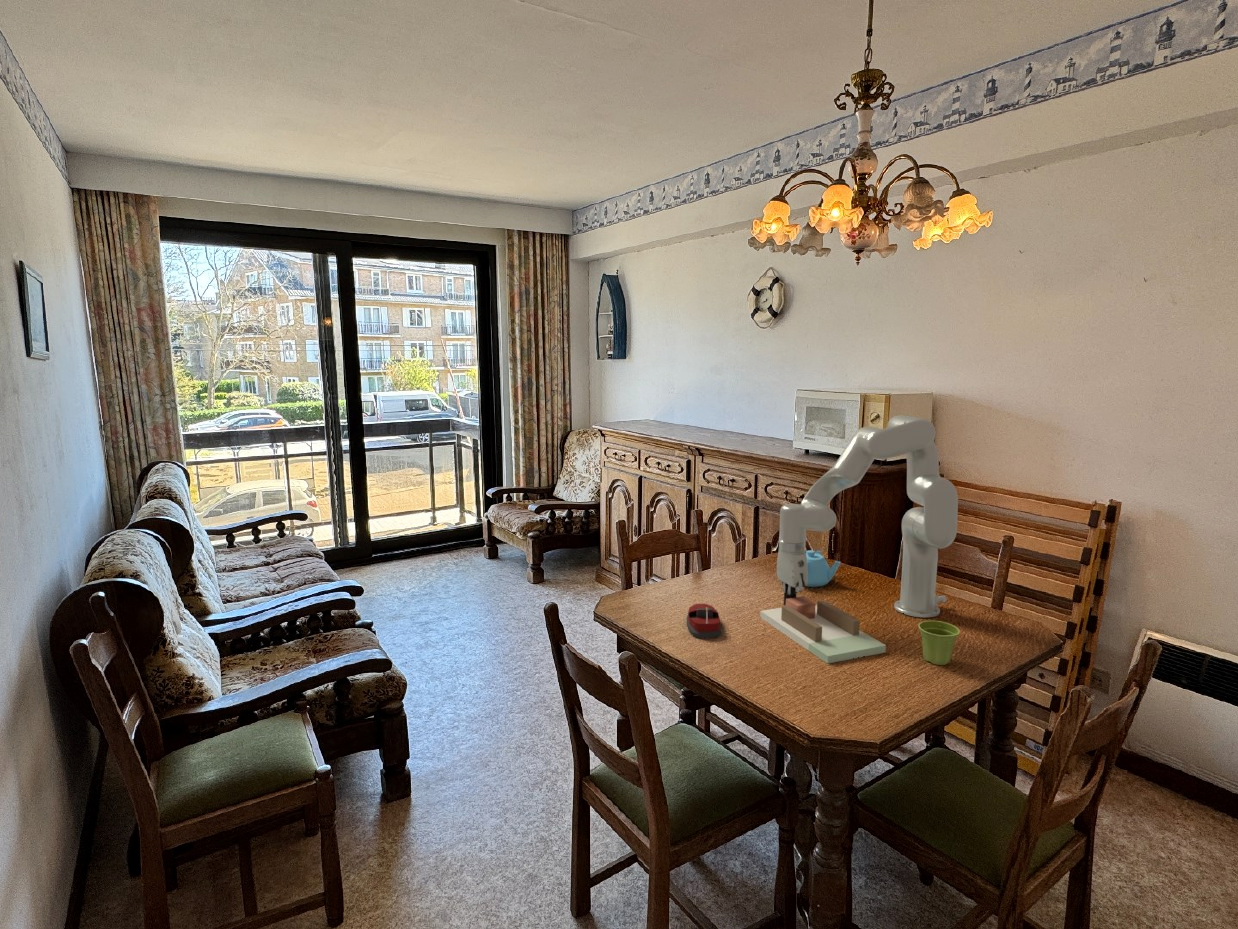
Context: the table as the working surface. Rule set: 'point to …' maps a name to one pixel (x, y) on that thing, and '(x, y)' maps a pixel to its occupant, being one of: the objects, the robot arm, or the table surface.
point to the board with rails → (825, 632)
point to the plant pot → (938, 641)
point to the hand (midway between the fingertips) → (789, 605)
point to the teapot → (819, 569)
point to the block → (802, 606)
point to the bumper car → (704, 621)
